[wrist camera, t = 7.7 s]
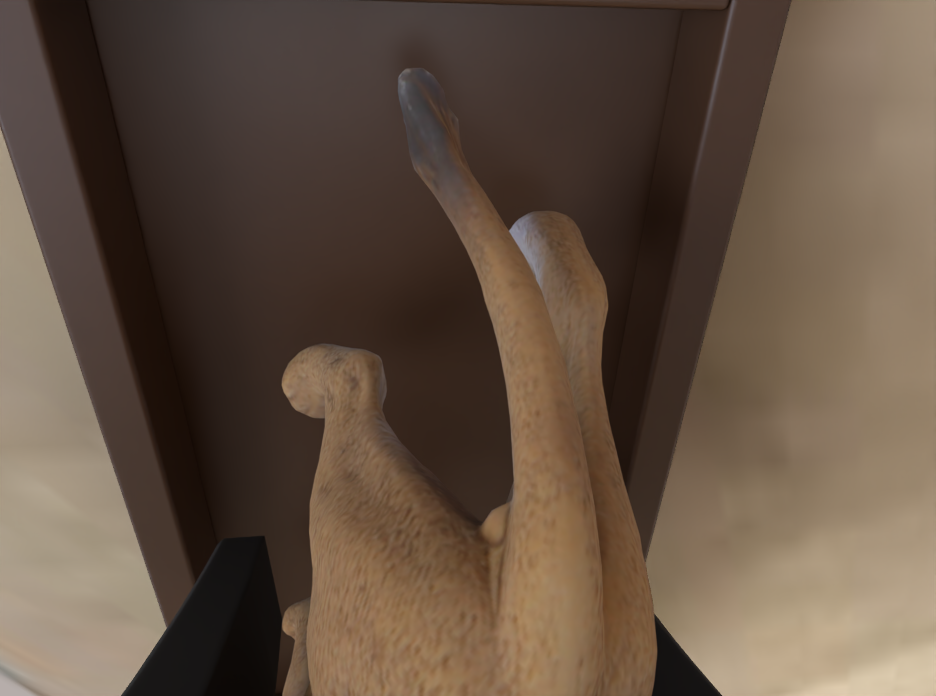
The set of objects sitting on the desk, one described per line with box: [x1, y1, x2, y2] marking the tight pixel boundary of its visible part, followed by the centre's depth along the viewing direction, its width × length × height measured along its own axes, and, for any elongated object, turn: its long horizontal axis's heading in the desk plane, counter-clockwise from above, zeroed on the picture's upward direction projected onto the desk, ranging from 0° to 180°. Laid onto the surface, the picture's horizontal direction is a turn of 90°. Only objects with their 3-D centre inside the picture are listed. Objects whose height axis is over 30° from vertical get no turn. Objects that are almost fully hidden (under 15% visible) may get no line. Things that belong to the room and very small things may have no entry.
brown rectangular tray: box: [0, 0, 791, 696], centre depth 13 cm, size 10×18×2 cm, turn 178°
